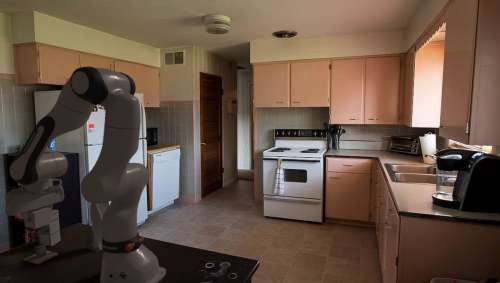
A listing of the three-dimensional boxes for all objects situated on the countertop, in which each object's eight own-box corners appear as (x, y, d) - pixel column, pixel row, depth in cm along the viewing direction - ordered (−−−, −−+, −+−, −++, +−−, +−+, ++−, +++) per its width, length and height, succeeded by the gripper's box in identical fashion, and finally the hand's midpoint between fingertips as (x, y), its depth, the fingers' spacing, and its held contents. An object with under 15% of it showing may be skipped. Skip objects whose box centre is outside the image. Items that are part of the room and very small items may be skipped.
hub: (58, 254, 119) (57, 243, 118) (37, 264, 111) (36, 251, 111) (44, 251, 122) (43, 240, 121) (23, 260, 114) (22, 248, 114)
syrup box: (61, 240, 132) (59, 209, 130) (51, 246, 126) (48, 213, 124) (49, 240, 132) (47, 208, 131) (38, 246, 126) (36, 213, 125)
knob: (51, 223, 117) (50, 206, 116) (35, 228, 111) (34, 211, 111) (40, 221, 119) (39, 204, 118) (24, 226, 113) (23, 209, 113)
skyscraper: (103, 241, 132) (100, 179, 129) (116, 244, 128) (113, 181, 126) (86, 248, 124) (82, 183, 122) (98, 252, 121) (95, 186, 118)
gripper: (10, 192, 103) (13, 230, 104) (65, 179, 122) (67, 211, 123) (-1, 190, 105) (2, 227, 106) (54, 178, 124) (56, 210, 125)
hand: (37, 219), depth 115 cm, fingers closed on knob, 6 cm apart
